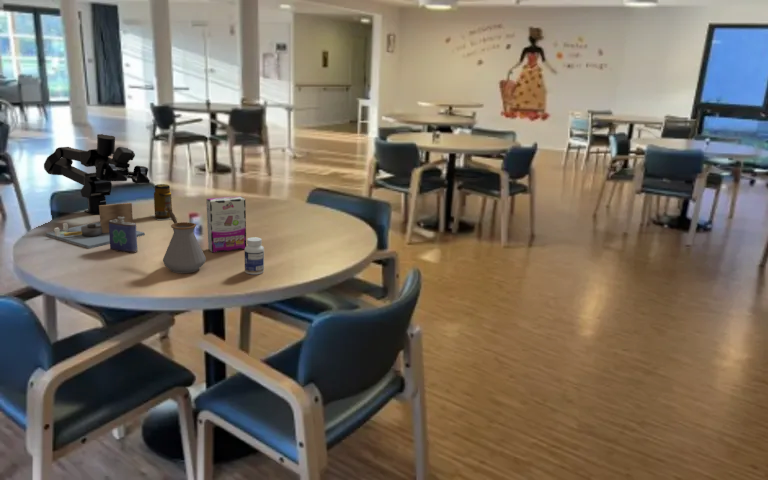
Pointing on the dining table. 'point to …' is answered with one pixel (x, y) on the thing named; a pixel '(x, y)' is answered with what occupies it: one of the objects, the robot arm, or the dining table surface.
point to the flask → (123, 236)
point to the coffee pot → (183, 248)
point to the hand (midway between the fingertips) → (138, 180)
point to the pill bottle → (254, 256)
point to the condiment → (162, 202)
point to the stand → (83, 240)
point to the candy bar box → (226, 223)
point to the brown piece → (106, 219)
